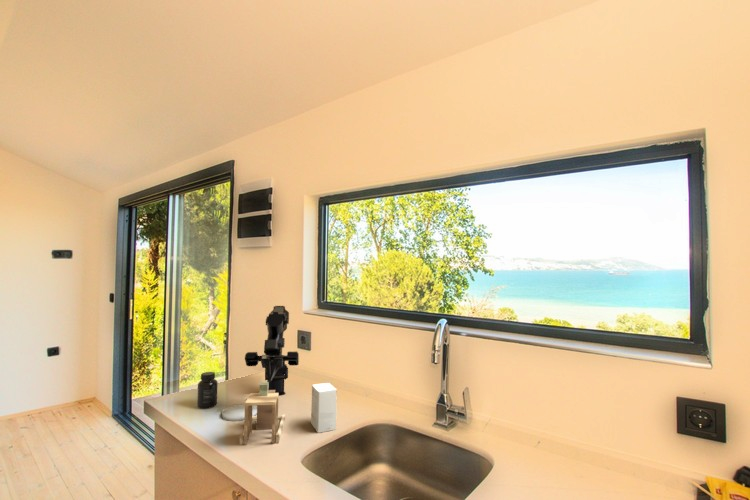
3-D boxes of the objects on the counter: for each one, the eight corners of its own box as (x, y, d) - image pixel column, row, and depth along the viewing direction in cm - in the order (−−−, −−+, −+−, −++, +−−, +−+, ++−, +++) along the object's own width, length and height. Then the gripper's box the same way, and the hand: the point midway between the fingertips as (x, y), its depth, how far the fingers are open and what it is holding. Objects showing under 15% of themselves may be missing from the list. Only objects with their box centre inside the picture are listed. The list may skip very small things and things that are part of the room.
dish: (252, 405, 139) (252, 401, 139) (261, 416, 129) (261, 412, 129) (219, 411, 133) (219, 408, 133) (225, 423, 123) (225, 420, 123)
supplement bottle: (220, 402, 141) (221, 371, 141) (210, 409, 134) (212, 376, 135) (203, 401, 142) (204, 370, 142) (193, 408, 135) (194, 375, 135)
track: (251, 419, 127) (251, 412, 127) (285, 417, 128) (285, 411, 128) (239, 444, 109) (239, 436, 109) (278, 443, 111) (278, 434, 111)
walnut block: (259, 423, 124) (260, 390, 124) (274, 422, 124) (275, 389, 125) (256, 430, 119) (257, 395, 119) (272, 429, 120) (273, 395, 120)
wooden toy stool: (249, 432, 117) (250, 382, 117) (277, 430, 118) (278, 381, 118) (243, 444, 109) (245, 390, 109) (274, 443, 110) (275, 390, 110)
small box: (336, 429, 120) (337, 389, 121) (317, 433, 117) (318, 392, 118) (328, 420, 127) (329, 382, 128) (310, 423, 125) (311, 384, 125)
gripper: (246, 329, 133) (238, 369, 122) (299, 329, 136) (295, 368, 124) (250, 346, 141) (243, 385, 130) (299, 345, 143) (297, 384, 132)
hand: (269, 380), depth 129 cm, fingers closed
